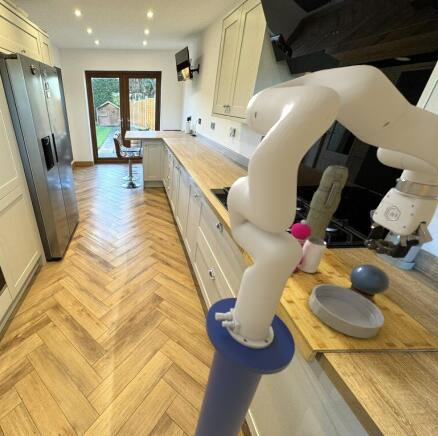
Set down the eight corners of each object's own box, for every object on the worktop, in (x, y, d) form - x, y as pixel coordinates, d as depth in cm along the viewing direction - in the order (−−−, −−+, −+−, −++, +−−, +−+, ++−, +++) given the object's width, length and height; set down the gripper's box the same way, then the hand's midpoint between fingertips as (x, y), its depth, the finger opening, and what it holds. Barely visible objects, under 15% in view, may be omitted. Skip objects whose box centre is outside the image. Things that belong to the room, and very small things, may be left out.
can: (294, 267, 89) (304, 240, 83) (298, 260, 93) (309, 234, 88) (313, 276, 85) (325, 248, 79) (317, 268, 89) (329, 241, 83)
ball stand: (356, 306, 72) (373, 277, 67) (335, 286, 80) (349, 258, 75) (385, 307, 72) (404, 278, 67) (361, 287, 80) (377, 259, 75)
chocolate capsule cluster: (377, 256, 62) (380, 251, 62) (356, 242, 69) (359, 237, 68) (412, 258, 62) (416, 252, 62) (388, 243, 69) (391, 238, 68)
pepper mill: (273, 261, 92) (288, 215, 83) (292, 262, 92) (309, 216, 83) (282, 273, 86) (299, 224, 77) (302, 274, 85) (322, 225, 77)
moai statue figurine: (300, 250, 100) (331, 168, 85) (293, 236, 110) (319, 162, 95) (324, 254, 98) (360, 171, 82) (314, 240, 108) (345, 164, 93)
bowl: (331, 338, 62) (338, 326, 60) (297, 293, 76) (301, 283, 74) (393, 340, 62) (401, 328, 60) (347, 295, 76) (352, 284, 74)
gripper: (372, 178, 66) (347, 233, 73) (440, 201, 50) (399, 268, 58) (399, 178, 65) (371, 233, 73) (476, 202, 50) (430, 269, 58)
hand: (384, 248), depth 65 cm, fingers closed on chocolate capsule cluster, 7 cm apart
